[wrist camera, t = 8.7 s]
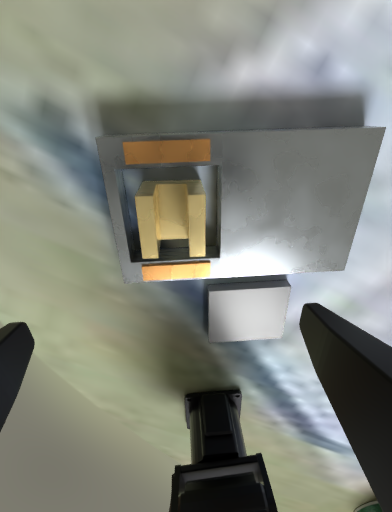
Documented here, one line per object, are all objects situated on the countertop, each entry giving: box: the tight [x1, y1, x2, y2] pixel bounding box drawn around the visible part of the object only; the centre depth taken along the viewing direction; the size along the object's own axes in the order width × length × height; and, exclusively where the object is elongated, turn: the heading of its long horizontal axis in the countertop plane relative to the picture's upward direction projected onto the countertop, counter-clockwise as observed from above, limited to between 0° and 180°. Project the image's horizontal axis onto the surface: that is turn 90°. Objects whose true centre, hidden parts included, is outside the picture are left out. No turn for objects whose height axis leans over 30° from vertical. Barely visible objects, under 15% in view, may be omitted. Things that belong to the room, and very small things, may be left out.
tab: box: [208, 280, 291, 343], centre depth 24 cm, size 6×7×1 cm
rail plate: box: [96, 126, 386, 283], centre depth 18 cm, size 10×17×2 cm, turn 92°
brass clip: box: [135, 180, 206, 259], centre depth 17 cm, size 4×4×4 cm
